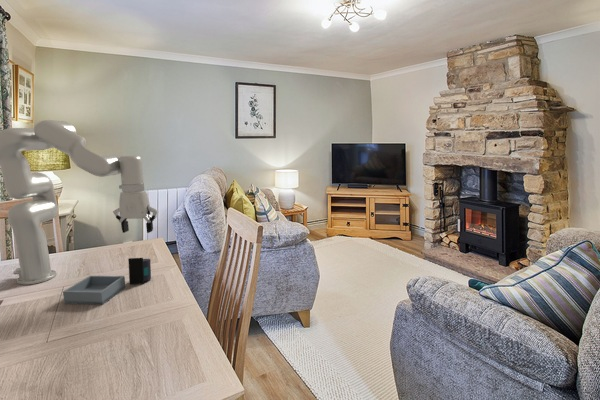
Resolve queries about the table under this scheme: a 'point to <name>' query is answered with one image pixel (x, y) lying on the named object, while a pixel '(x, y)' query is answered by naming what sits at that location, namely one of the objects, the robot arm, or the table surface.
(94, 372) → the table surface
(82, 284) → the open box
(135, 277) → the speaker
